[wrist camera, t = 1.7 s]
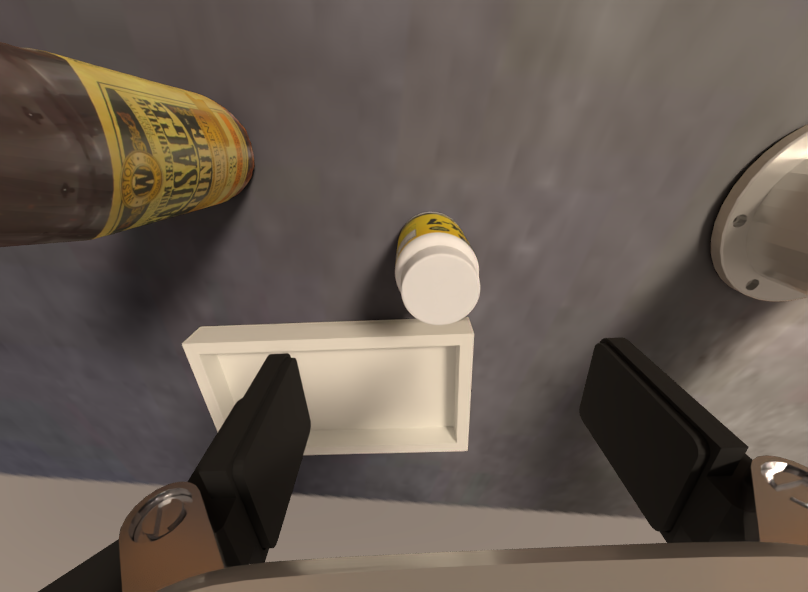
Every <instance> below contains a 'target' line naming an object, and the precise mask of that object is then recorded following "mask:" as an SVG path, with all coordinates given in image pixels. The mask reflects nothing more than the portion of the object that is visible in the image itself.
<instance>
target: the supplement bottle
mask: <svg viewBox="0 0 808 592" xmlns="http://www.w3.org/2000/svg"><path fill="white" fill-rule="evenodd" d="M395 279H396V283H397V286H398V288H399V290H400V292H401V296H402V300H403V303H404V305H405V307H406V309H407V310H408V311H409V312H410V313H411V314H412V315H413V316H414V317H415V318H416V319H418V320H420V321H422V322H424V323H427V324H432V325H446V324H451V323H454V322H457V321H459V320H461V319H462V318H464V317H465V316H466V315H468V314H469V313H470V312H471V311H472V309H473V308H474V307H475V305H476V303H477V301H478V298H479V294H480V281H479V266H478V261H477V258H476V255H475V253H474V251H473V249H472V248H471V246H470V245H469V243H468V241H467V239H466V237H465V236H464V234H463V232H462V230H461V229H460V227H459V226H458V224H457V223H456V222H455V221H454V220H453V219H451V218H450V217H448V216H446V215H444V214H441V213H437V212H426V213H421V214H419V215H416V216H415V217H413V218H411V219H410V220H409V221H408V222H407V223H406V224H405V225H404V227H403V228H402V230H401V232H400V235H399V238H398V246H397V255H396V264H395Z"/></svg>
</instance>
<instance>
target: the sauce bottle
mask: <svg viewBox="0 0 808 592" xmlns="http://www.w3.org/2000/svg"><path fill="white" fill-rule="evenodd" d="M254 167H255V165H254V155H253V150H252V146H251V142H250V140H249V137H248V135H247V131H246V129H245V128H244V127H243V126H242V125H241V124H240V122H239V121H238V120H237V119H236V118H235V117H234V116H233V115H232V114H231V113H230V112H228V111H227V110H226V109H225V108H224V107H222V106H221V105H219V104H218V103H216V102H215V101H213V100H211V99H209V98H207V97H205V96H202V95H200V94H197V93H194V92H190V91H186V90H183V89H179V88H175V87H172V86H168V85H164V84H160V83H156V82H153V81H149V80H146V79H142V78H139V77H135V76H132V75H128V74H125V73H121V72H117V71H114V70H110V69H106V68H103V67H99V66H95V65H92V64H88V63H85V62H81V61H78V60H74V59H71V58H67V57H64V56H60V55H57V54H53V53H50V52H46V51H42V50H37V49H31V48H19V47H15V46H12V45H9V44H6V43H1V42H0V247H6V246H19V245H32V244H46V243H58V242H71V241H84V240H91V239H95V238H99V237H102V236H107V235H111V234H115V233H118V232H121V231H124V230H127V229H131V228H135V227H139V226H143V225H147V224H150V223H153V222H157V221H160V220H164V219H167V218H171V217H175V216H178V215H181V214H185V213H189V212H192V211H196V210H200V209H203V208H206V207H210V206H213V205H217V204H220V203H223V202H226V201H228V200H229V199H230V198H232V197H234V196H236V195H237V194H239V193H240V192H241V191H242V190H243V189H244V187H245V186H246V185H247V183H248V182H249V180H250V179H251V177H252V171H253V169H254Z"/></svg>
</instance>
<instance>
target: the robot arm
mask: <svg viewBox="0 0 808 592" xmlns="http://www.w3.org/2000/svg"><path fill="white" fill-rule="evenodd" d="M711 257H712V261H713V265H714V268H715V270H716V272H717V273H718V275H719V277H720V278H721V279H722V280H723V281H724V282H725V283H726V284H727V285H728V286H729V287H731V288H733V289H735V290H737V291H738V292H740V293H742V294H744V295H747V296H750V297H752V298H755V299H758V300H765V301H772V302H776V301H792V300H797V299H802V298H807V297H808V124H807V125H805V126H803V127H802V128H800V129H798V130H796V131H795V132H793V133H791V134H789V135H788V136H786V137H784V138H783V139H782V140H780V141H779V142H778V143H776V144H775V145H774V146H773V147H771V148H770V149H769V150H767V151H766V152H765V153H764V154H763V155H762V156H761V157H759V158H758V159H757V160H756V161H755V162H754V163H753V164H752V165H751V166H750V167H749V168H748V169H747V170H746V172H745V173H744V174H743V175H742V176H741V178H740V179H739V180H738V181H737V183H736V184H735V185H734V186H733V188H732V189H731V191H730V193H729V194H728V196H727V198H726V199H725V201H724V203H723V204H722V206H721V209H720V211H719V214H718V216H717V218H716V221H715V224H714V228H713V233H712V237H711ZM579 410H580V416H581V419H582V421H583V422H584V424H585V425H586V427H587V428H588V430H589V431H590V433H591V435H592V436H593V438H594V439H595V441H596V442H597V444H598V445H599V447H600V448H601V450H602V451H603V453H604V455H605V456H606V458H607V459H608V461H609V462H610V464H611V465H612V467H613V468H614V470H615V472H616V473H617V475H618V476H619V478H620V479H621V481H622V482H623V484H624V485H625V487H626V488H627V490H628V492H629V493H630V495H631V496H632V498H633V499H634V501H635V502H636V504H637V505H638V507H639V508H640V510H641V512H642V513H643V515H644V516H645V518H646V519H647V521H648V522H649V524H650V525H651V526H652V528H654V529H655V530H656V531H660V533H661V534H662V536H663V537H664V539H665V540H666V542H667V543H656V544H629V545H602V546H576V547H554V548H553V547H552V548H528V549H505V550H481V551H459V552H437V553H418V554H396V555H375V556H355V557H336V558H321V559H308V560H292V561H277V562H265V560H266V556H267V553H268V550H269V548H274V547H275V545H276V543H277V541H278V538H279V534H280V531H281V527H282V524H283V521H284V517H285V514H286V510H287V507H288V504H289V501H290V497H291V494H292V491H293V487H294V484H295V481H296V477H297V474H298V471H299V467H300V464H301V461H302V457H303V454H304V451H305V447H306V444H307V441H308V437H309V434H310V429H311V420H310V416H309V411H308V407H307V403H306V398H305V394H304V390H303V385H302V381H301V377H300V372H299V368H298V364H297V360H296V358H291V356H290V354H288V353H283V354H270V355H268V356H267V358H266V360H265V361H264V363H263V365H262V366H261V368H260V370H259V371H258V373H257V375H256V376H255V378H254V380H253V381H252V383H251V385H250V387H249V388H248V390H247V392H246V393H245V395H244V397H243V398H241V399H240V400H238V401H237V402H236V404H235V405H234V407H233V408H232V410H231V412H230V413H229V415H228V417H227V418H226V420H225V421H224V423H223V425H222V426H221V428H220V430H219V431H218V433H217V435H216V436H215V438H214V439H213V441H212V443H211V444H210V446H209V448H208V449H207V451H206V453H205V454H204V456H203V457H202V459H201V461H200V462H199V464H198V466H197V467H196V469H195V471H194V472H193V474H192V475H191V477H190V479H189V480H188V482H176V483H172V484H168V485H166V486H164V487H161V488H159V489H157V490H155V491H154V492H152V493H151V494H149V495H148V496H146V497H145V498H144V499H143V500H142V501H141V502H139V503H138V504H137V505H136V506H135V507H134V508H133V510H132V511H131V512H130V513H129V514H128V516H127V517H126V519H125V521H124V523H123V525H122V527H121V529H120V534H119V539H118V540H117V541H115V542H114V543H112V544H111V545H109V546H108V547H106V548H104V549H103V550H102V551H100V552H98V553H97V554H95V555H94V556H92V557H91V558H89V559H88V560H86V561H85V562H83V563H82V564H80V565H78V566H77V567H75V568H74V569H72V570H71V571H69V572H68V573H66V574H65V575H63V576H61V577H60V578H58V579H57V580H55V581H54V582H52V583H51V584H49V585H48V586H46V587H45V588H43V589H41V590H40V591H38V592H808V467H805V466H803V465H801V464H799V463H796V462H794V461H791V460H788V459H784V458H781V457H776V456H768V455H766V456H758V457H756V458H755V459H753V460H752V459H751V458H750V457H749V456H747V455H746V454H745V452H746V451H747V449H748V446H747V445H746V444H745V443H743V442H742V441H741V440H740V439H739V438H738V437H737V436H735V435H734V434H733V433H732V432H731V431H730V430H729V429H728V428H726V427H725V426H724V425H723V424H722V423H721V422H720V421H719V420H717V419H716V418H715V417H714V416H713V415H712V414H711V413H710V412H708V411H707V410H706V409H705V408H704V407H703V406H702V405H700V404H699V403H698V402H697V401H696V400H695V399H694V398H693V397H691V396H690V395H689V394H688V393H687V392H686V391H685V390H684V389H682V388H681V387H680V386H679V385H678V384H677V383H676V382H674V381H673V380H672V379H671V378H670V377H669V376H668V375H667V374H665V373H664V372H663V371H662V370H661V369H660V368H659V367H658V366H656V365H655V364H654V363H653V362H652V361H651V360H650V359H649V358H647V357H646V356H645V355H644V354H643V353H642V352H641V351H639V350H638V349H637V348H636V347H635V346H634V345H633V344H632V343H630V342H629V341H628V340H627V339H625V338H604V339H602V340H601V341H600V343H598V344H596V345H595V348H594V352H593V356H592V360H591V364H590V368H589V372H588V376H587V380H586V384H585V388H584V392H583V396H582V400H581V404H580V409H579Z"/></svg>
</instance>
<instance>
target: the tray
mask: <svg viewBox="0 0 808 592" xmlns="http://www.w3.org/2000/svg"><path fill="white" fill-rule="evenodd" d="M473 343H474V332H473V329H472V326H471V323H470V320H469V317H464V318H462V319H461V320H459V321H457V322H454V323H451V324H446V325H432V324H427V323H424V322H422V321H420V320H418V319H396V320H368V321H341V322H314V323H287V324H260V325H232V326H205V327H199V328H198V329H197V330H196V331H195V332H194V333H193V334H192V335H191V336H190V337H189V338H188V339H186V340H185V341H184V342H183V343H182V346H183V348H184V351H185V353H186V356H187V358H188V360H189V363H190V365H191V368H192V370H193V373H194V375H195V378H196V380H197V383H198V385H199V387H200V390H201V392H202V395H203V397H204V400H205V402H206V405H207V407H208V410H209V412H210V414H211V417H212V419H213V422H214V424H215V427H216V429H217V432H218V431H219V430H220V428H221V426H222V425H223V423H224V421H225V420H226V418H227V417H228V415H229V413H230V412H231V410H232V408H233V407H234V405H235V404H236V402H237V401H238V400H240V399H241V398H243V397H244V395H245V393H246V392H247V390H248V388H249V387H250V385H251V383H252V381H253V380H254V378H255V376H256V375H257V373H258V371H259V370H260V368H261V366H262V365H263V363H264V361H265V360H266V358H267V356H268V355H270V354H283V353H288V354H290V356H291V358H296V360H297V364H298V368H299V372H300V377H301V381H302V385H303V390H304V394H305V398H306V403H307V407H308V411H309V416H310V420H311V429H310V434H309V437H308V441H307V444H306V447H305V451H304V454H303V455H330V454H368V453H406V452H444V451H468V433H469V415H470V397H471V379H472V361H473Z"/></svg>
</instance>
